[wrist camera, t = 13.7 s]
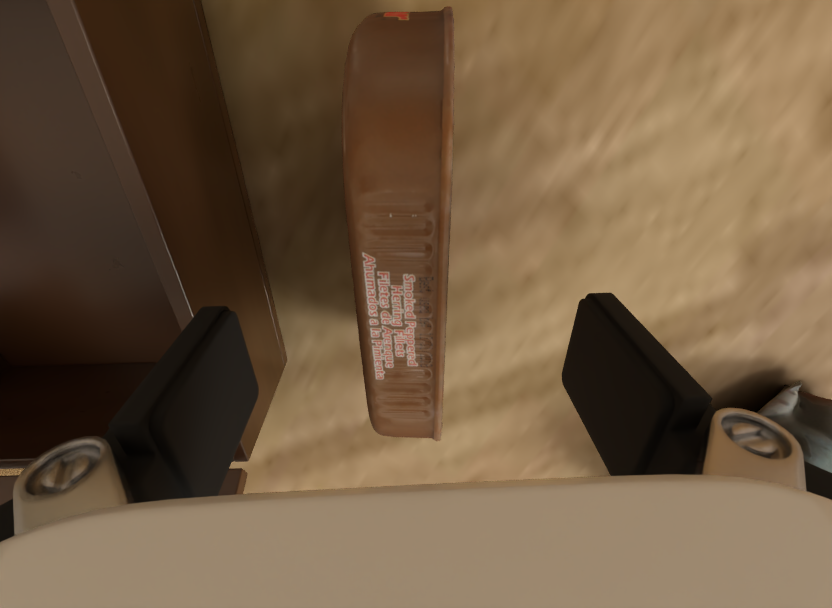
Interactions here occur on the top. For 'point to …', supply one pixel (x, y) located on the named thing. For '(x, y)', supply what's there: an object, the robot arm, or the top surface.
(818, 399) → the lucky cat figurine
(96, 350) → the chest
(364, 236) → the tin
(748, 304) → the top surface
